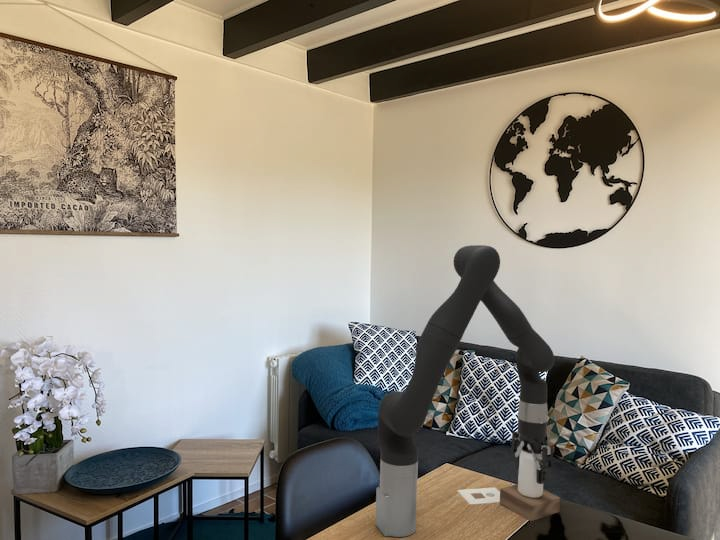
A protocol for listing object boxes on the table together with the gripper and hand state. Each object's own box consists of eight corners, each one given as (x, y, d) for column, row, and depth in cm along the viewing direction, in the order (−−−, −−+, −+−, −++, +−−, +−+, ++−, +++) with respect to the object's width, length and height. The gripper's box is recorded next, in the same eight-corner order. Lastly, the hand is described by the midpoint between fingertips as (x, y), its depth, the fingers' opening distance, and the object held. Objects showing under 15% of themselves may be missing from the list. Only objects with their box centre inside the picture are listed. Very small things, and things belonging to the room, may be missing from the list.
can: (544, 500, 143) (546, 455, 143) (518, 497, 144) (521, 452, 144) (540, 489, 150) (543, 446, 149) (516, 486, 151) (518, 444, 150)
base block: (531, 521, 140) (531, 506, 140) (499, 503, 149) (500, 488, 149) (559, 512, 145) (560, 497, 145) (527, 495, 155) (528, 481, 155)
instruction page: (470, 505, 148) (470, 504, 148) (456, 490, 157) (456, 490, 157) (510, 501, 151) (510, 500, 151) (495, 488, 159) (495, 487, 159)
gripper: (504, 411, 152) (502, 468, 152) (538, 426, 139) (536, 489, 139) (527, 409, 155) (524, 465, 155) (562, 424, 141) (559, 485, 142)
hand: (530, 476), depth 147 cm, fingers open, 8 cm apart
